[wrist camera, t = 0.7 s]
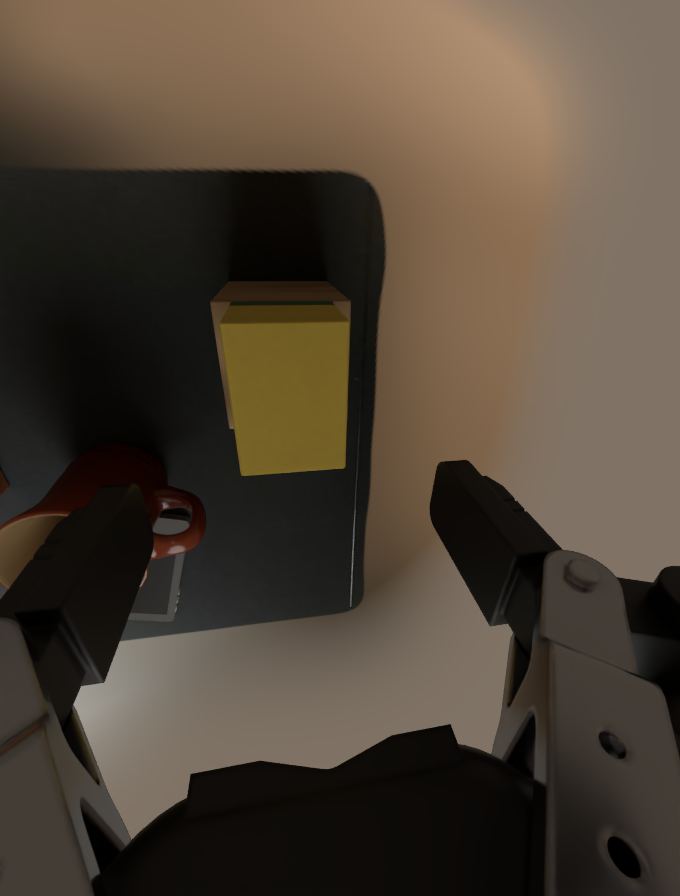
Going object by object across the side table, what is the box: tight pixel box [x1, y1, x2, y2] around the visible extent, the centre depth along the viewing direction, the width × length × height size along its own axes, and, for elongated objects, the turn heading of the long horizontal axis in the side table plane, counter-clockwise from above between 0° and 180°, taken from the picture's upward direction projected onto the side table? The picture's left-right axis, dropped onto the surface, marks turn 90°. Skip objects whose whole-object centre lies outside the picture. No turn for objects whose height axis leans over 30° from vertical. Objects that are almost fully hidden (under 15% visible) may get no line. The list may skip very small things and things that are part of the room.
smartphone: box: [128, 513, 190, 622], centre depth 36 cm, size 15×8×1 cm, turn 162°
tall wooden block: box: [210, 281, 351, 429], centre depth 24 cm, size 7×7×9 cm
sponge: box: [219, 301, 350, 476], centre depth 18 cm, size 7×5×5 cm
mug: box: [0, 443, 206, 590], centre depth 27 cm, size 12×9×10 cm
